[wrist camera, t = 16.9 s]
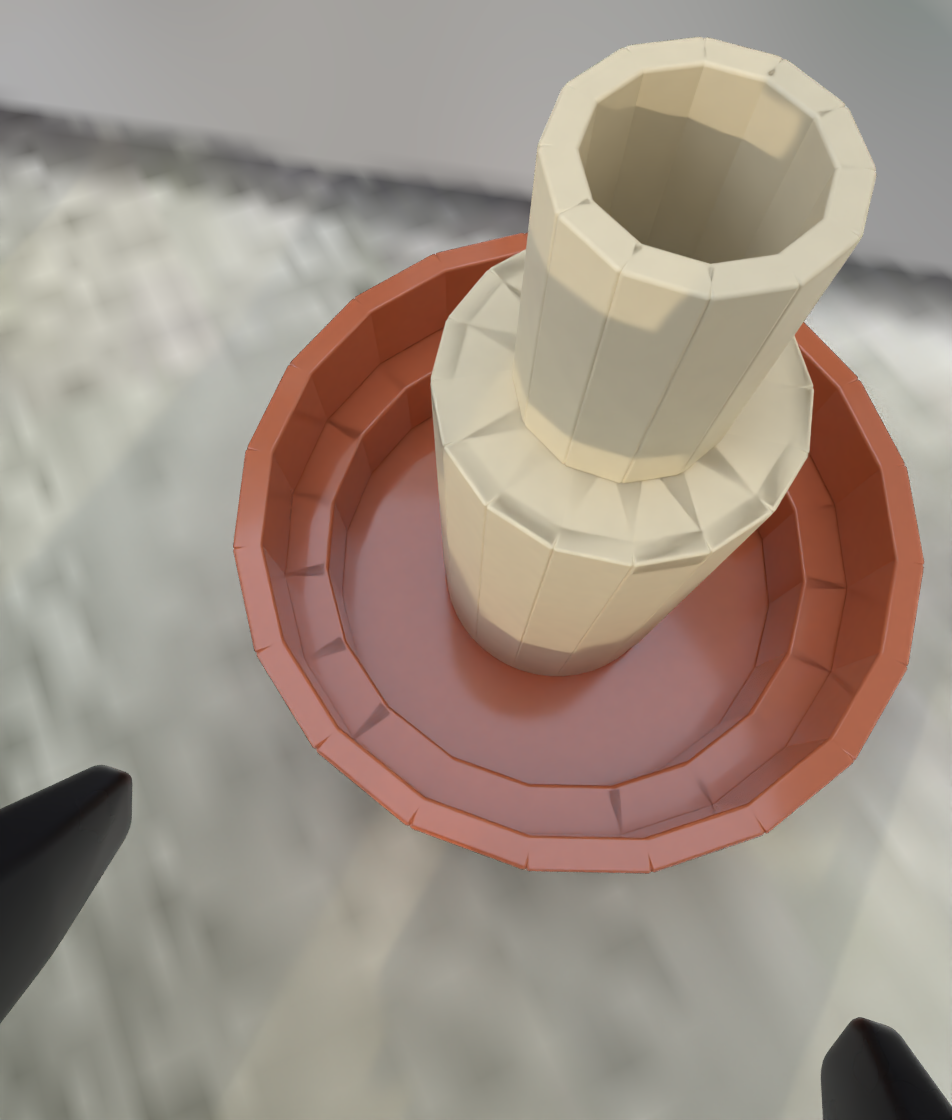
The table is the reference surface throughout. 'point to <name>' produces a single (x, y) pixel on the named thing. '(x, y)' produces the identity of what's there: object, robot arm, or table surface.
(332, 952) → the table surface
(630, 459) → the bottle
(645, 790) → the bowl
